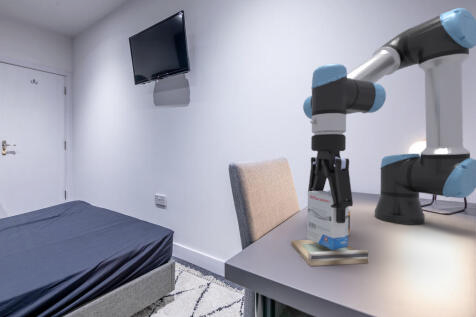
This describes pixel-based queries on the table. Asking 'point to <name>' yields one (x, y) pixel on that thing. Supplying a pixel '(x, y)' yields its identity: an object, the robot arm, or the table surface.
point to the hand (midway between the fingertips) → (326, 229)
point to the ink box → (323, 221)
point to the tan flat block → (328, 254)
